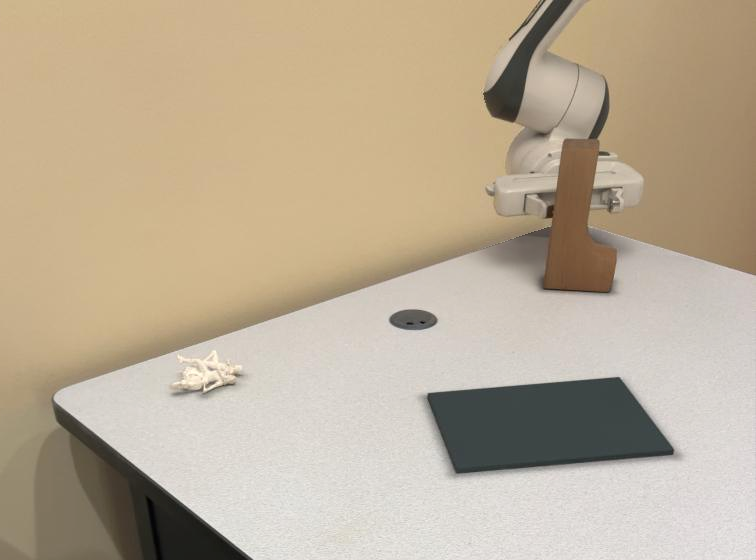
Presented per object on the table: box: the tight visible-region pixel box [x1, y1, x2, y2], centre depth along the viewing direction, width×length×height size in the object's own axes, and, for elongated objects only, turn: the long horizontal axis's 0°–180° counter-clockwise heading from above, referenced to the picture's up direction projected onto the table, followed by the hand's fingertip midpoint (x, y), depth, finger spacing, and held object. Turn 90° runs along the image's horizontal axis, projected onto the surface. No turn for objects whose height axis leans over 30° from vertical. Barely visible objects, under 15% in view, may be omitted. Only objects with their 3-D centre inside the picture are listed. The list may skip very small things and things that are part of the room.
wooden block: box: [543, 138, 618, 293], centre depth 117 cm, size 9×4×18 cm, turn 75°
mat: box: [427, 376, 675, 474], centre depth 95 cm, size 22×16×1 cm
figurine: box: [170, 349, 244, 394], centre depth 105 cm, size 3×8×8 cm
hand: (583, 210), depth 118 cm, fingers open, 8 cm apart
